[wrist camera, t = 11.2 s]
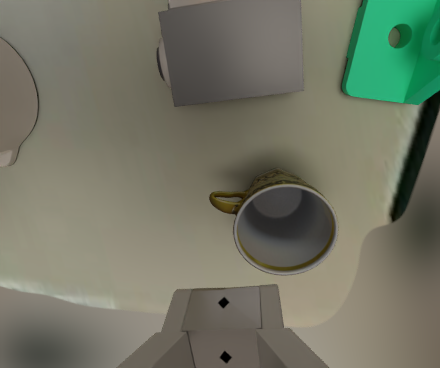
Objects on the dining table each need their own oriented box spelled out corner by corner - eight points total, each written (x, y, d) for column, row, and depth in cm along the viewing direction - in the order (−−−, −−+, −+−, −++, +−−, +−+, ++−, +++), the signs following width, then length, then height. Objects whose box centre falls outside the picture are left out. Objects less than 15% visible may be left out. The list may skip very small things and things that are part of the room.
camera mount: (368, -34, 30) (426, -83, 20) (448, -25, 30) (544, -69, 20) (336, 93, 34) (371, 103, 25) (405, 102, 34) (468, 115, 24)
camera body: (176, 101, 36) (160, 108, 29) (163, 24, 33) (142, 14, 26) (293, 86, 34) (303, 90, 28) (289, 4, 31) (300, -12, 25)
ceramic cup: (330, 172, 37) (358, 206, 28) (295, 238, 41) (309, 288, 31) (230, 134, 37) (225, 157, 27) (204, 205, 40) (191, 246, 31)
